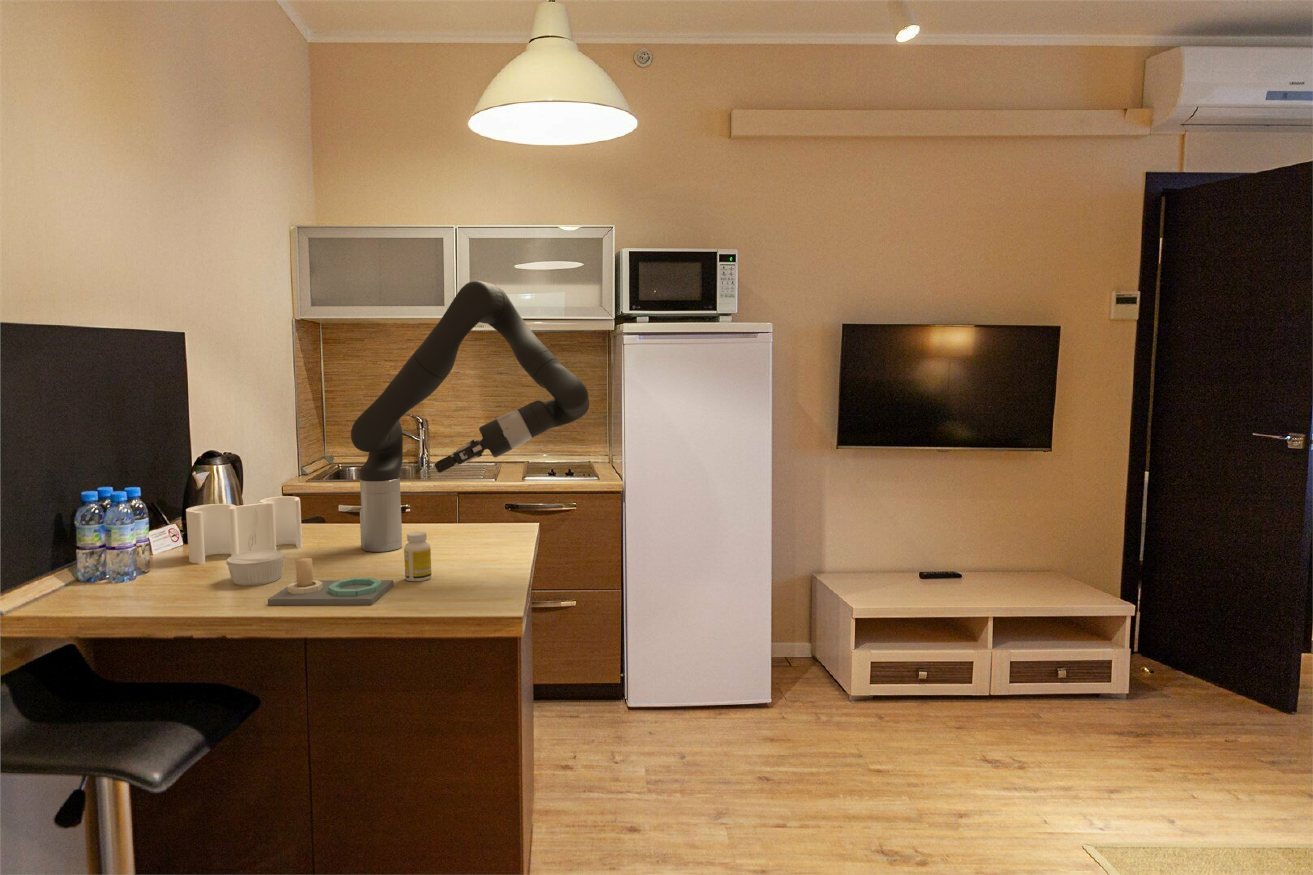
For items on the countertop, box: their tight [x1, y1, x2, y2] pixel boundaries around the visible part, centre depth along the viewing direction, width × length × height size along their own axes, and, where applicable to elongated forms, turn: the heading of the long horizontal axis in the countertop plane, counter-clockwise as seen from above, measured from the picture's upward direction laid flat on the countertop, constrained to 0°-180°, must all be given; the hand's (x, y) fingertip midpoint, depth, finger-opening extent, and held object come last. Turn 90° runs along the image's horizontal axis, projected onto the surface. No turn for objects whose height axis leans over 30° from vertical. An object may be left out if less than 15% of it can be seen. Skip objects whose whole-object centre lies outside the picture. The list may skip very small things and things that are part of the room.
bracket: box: [185, 495, 303, 565], centre depth 203 cm, size 25×10×12 cm, turn 131°
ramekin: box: [226, 550, 286, 587], centre depth 179 cm, size 11×11×5 cm
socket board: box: [267, 557, 395, 606], centre depth 167 cm, size 20×13×7 cm, turn 90°
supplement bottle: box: [403, 531, 432, 582], centre depth 179 cm, size 5×5×10 cm
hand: (437, 467), depth 181 cm, fingers open, 8 cm apart
